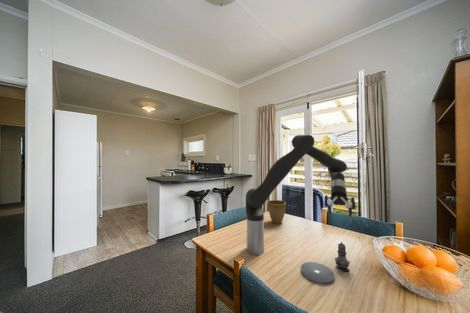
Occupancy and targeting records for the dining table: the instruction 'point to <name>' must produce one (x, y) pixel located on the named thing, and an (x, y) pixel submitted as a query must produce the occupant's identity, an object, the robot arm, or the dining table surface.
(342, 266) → the dark ornate figurine
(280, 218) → the plant pot
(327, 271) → the dish
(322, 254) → the dining table surface
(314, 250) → the dining table surface
